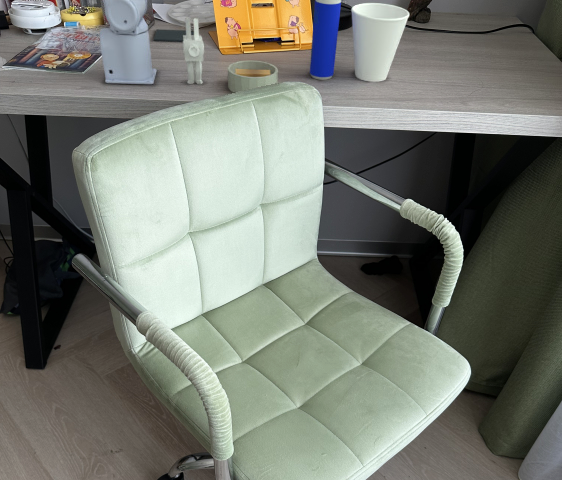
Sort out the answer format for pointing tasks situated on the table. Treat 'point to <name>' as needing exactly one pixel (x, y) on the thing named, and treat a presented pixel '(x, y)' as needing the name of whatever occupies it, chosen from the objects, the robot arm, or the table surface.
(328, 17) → the beverage can
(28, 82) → the table surface
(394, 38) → the cup
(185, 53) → the toy robot
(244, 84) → the tin
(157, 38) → the coaster
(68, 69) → the table surface
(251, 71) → the tan wooden block
